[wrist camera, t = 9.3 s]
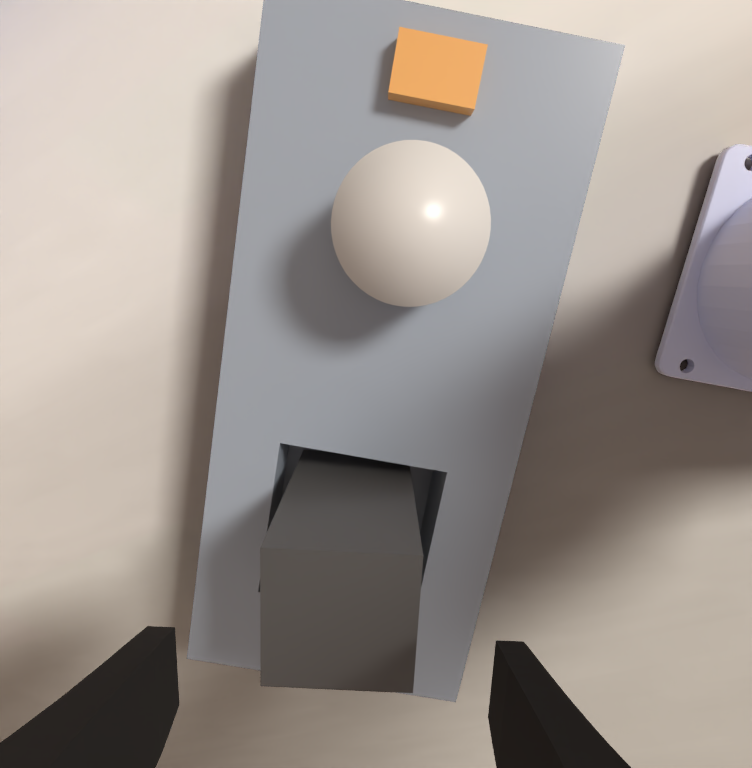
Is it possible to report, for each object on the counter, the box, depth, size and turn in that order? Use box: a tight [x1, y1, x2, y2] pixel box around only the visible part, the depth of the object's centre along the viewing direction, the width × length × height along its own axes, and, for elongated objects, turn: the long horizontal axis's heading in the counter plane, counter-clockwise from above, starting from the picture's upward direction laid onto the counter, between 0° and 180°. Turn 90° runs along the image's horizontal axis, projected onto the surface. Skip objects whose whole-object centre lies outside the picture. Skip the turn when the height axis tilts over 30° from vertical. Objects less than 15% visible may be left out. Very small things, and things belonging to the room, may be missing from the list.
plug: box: [260, 450, 423, 693], centre depth 16 cm, size 4×4×7 cm
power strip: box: [187, 0, 625, 702], centre depth 16 cm, size 10×22×6 cm, turn 170°
